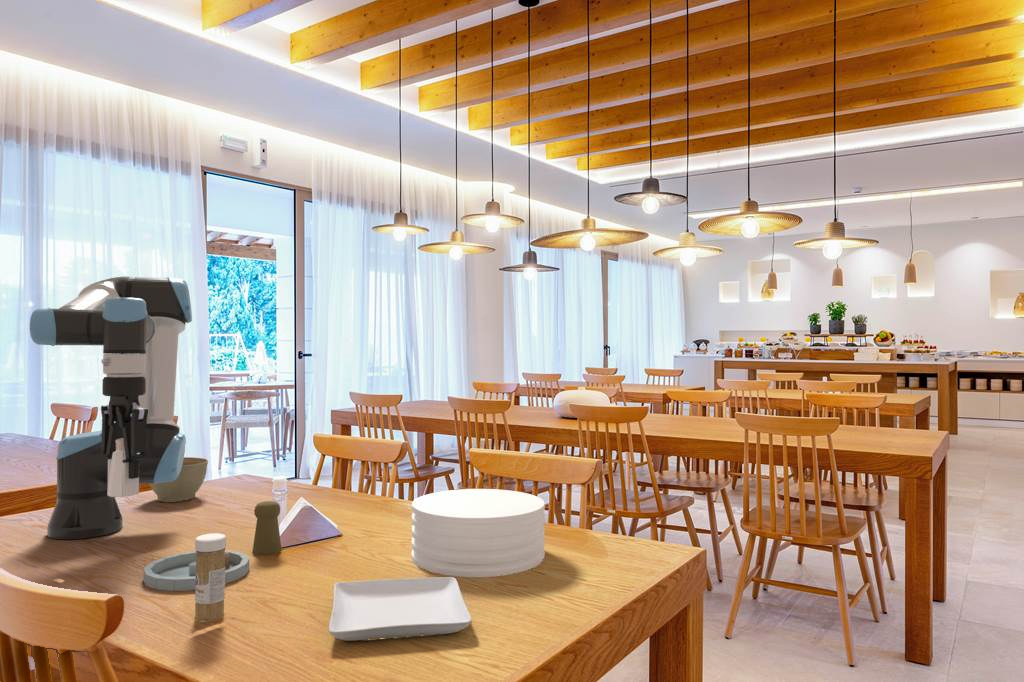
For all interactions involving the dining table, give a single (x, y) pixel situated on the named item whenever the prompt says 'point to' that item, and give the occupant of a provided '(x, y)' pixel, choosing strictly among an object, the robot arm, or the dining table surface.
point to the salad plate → (397, 608)
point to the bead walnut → (227, 560)
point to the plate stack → (478, 532)
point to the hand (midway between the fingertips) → (123, 492)
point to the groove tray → (188, 571)
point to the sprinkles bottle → (210, 577)
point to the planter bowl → (183, 481)
